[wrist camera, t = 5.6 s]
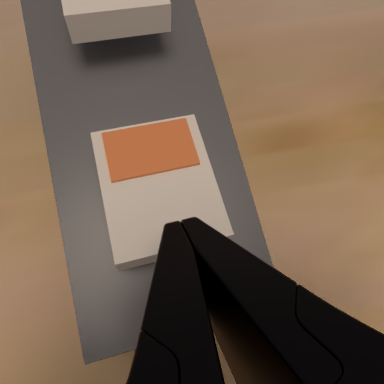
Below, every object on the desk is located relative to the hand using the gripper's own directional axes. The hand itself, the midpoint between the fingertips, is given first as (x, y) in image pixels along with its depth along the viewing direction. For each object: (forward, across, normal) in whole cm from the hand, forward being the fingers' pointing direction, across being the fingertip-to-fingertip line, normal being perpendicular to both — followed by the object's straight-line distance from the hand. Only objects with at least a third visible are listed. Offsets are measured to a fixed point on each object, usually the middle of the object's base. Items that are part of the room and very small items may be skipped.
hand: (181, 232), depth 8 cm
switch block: (+14, 0, +4) cm, 14 cm away
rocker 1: (+10, 0, -6) cm, 11 cm away
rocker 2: (+4, 0, +1) cm, 4 cm away
